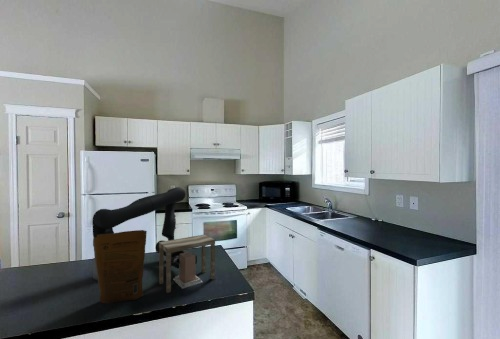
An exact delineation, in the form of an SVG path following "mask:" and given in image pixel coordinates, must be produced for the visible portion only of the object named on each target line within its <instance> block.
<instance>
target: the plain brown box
mask: <svg viewBox="0 0 500 339" xmlns="http://www.w3.org/2000/svg"><path fill="white" fill-rule="evenodd" d="M195 255H196V254H195ZM195 255H194V253H193V254H192V252H191V251H186V252H185V251H184V253H181V254H180V264H179V275H180V280H181V281H183V282H184V283H187V282H190V281H194V280H195V275H196V264H195Z"/></svg>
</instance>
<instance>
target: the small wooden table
mask: <svg viewBox="0 0 500 339" xmlns="http://www.w3.org/2000/svg"><path fill="white" fill-rule="evenodd" d="M158 242H159V241H158ZM207 246H210V279H211V280H215V279H216V238H215V239H214V238H213V237H210V236H208V235H207V234H200V235H199V234H198V235H193V236H187V237H181V238H174V240H169V241H168V240H163V242H159V253H158V260H159V261H158V263H159V264H158V265H159V266H158V281H159V282H158V283H159V285H163V284H164V255H163V250H164V251H165V252H166V256H165V257H166V258H165V262H166V263H165V266H166V267H165V268H166V269H165V270H166V271H165V277H166V281H165V282H166V284H165V285H166V286H165V289H166V290H165V292H166V293H167V294H168V293H169V294H170V293H171V292H172V266H171V253H172V252H177V251H187V250H190V249H196V248H201V272H202V274H203V273H206V265H207V264H206V247H207Z"/></svg>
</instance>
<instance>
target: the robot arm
mask: <svg viewBox="0 0 500 339" xmlns="http://www.w3.org/2000/svg"><path fill="white" fill-rule="evenodd" d="M185 198H186V191H185V189H183V188H182V187H173V188H170V189H168V190H167V191H166V192H163V193H162V192H161V193H158V194H152V195H148V196H145V197H142V198H139V199H136V200H135V201H132V202H131V203H129V205H126V206H123V207H120V208H115V209H109V208H108V209H107V208H100V209H98V210H96V211H95V213H94V214H93V216H92V222H91V223H92V236H93V238H97V235H100V234H110V233H115V232H114V229H113V228H115V227H117V226H119V225H121V224H124V223H125V222H127V221H130V220H133V219H136V218H138V217H142V216H145V215H148V214H150V213H153V212H156V211H158V210H159V209H162V208H164V207H165V208H164V219H163V224H162V230H161V236H162V237H165V238H166V239H167V241H169V240H175V231H176V224H177V222H176V221H177V220H176V215H175V208H176V204H177V203H181V202H182V201H184V199H185ZM163 241H164V240H162V239H161V240H158V241H157V242H156V243H155V248H154V249H155V251H156V253H157V254H159V242H163ZM181 253H185V250H182V251H177V252H172V253H171V267H173V268H175V269H180V254H181ZM191 253H192V252H191ZM192 254H194V253H192ZM194 255H195V265H197V262H198V255H196V254H194ZM164 256H165V257H166V252H165V251H164V250H163V257H164ZM92 279H93V280H95V281H97V282H98V275H97V270H96V263H95V257H93V258H92Z"/></svg>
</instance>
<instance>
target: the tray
mask: <svg viewBox="0 0 500 339" xmlns="http://www.w3.org/2000/svg"><path fill="white" fill-rule="evenodd" d="M172 280H173V281H174V282H175V283H176V284H177V285H178V286H179V287H180V288H181V289H186V288H190V287H193V286H196V285H200V284H202V283H204V281H203V280H202V279H201V278H200V277H199V276H197V275H196V274H195V280H194V281H190V282H187V283H184V282H183V281H181V280H180V274H178V275H175V276H174V277H173V278H172Z"/></svg>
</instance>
